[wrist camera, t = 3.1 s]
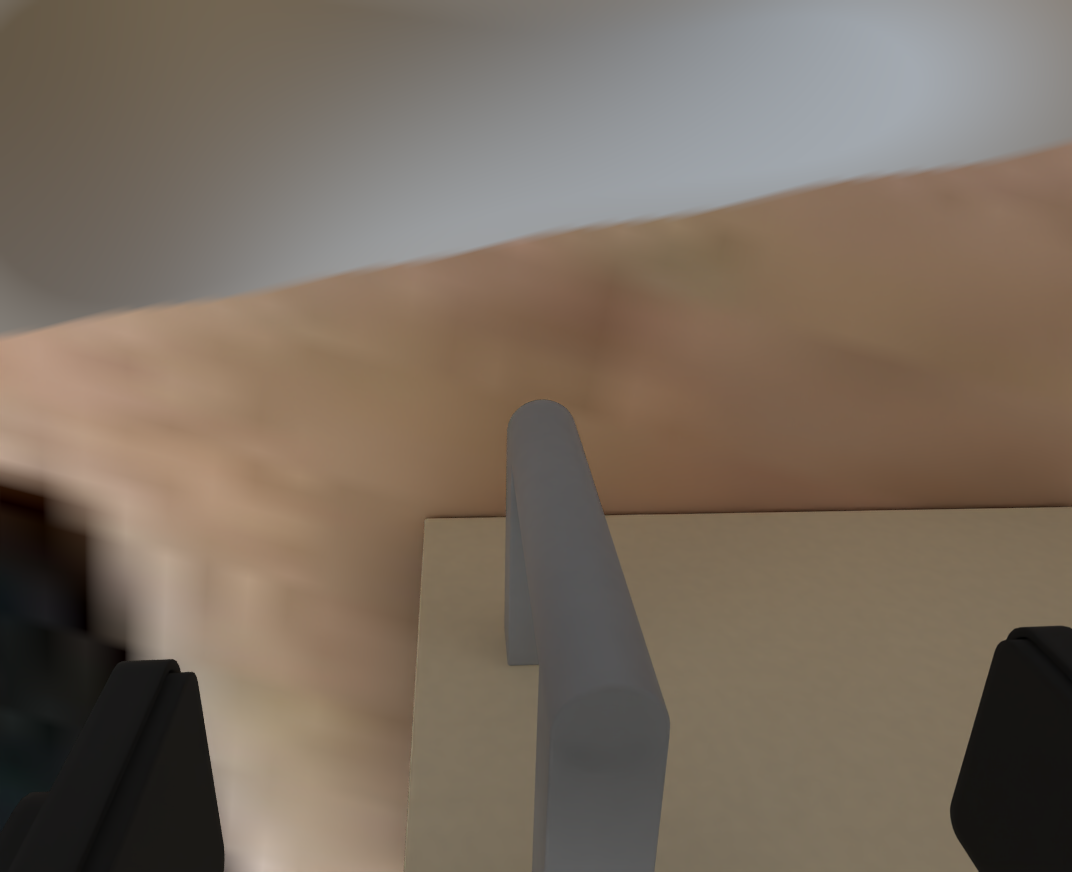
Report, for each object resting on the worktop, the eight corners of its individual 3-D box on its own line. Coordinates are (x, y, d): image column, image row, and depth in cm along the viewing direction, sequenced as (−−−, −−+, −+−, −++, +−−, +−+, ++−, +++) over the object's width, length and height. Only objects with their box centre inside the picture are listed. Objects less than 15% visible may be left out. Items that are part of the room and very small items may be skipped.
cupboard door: (419, 325, 25) (301, 1310, 6) (1137, 325, 27) (2921, 1058, 8) (425, 545, 28) (360, 1702, 9) (1073, 531, 30) (2241, 1448, 10)
